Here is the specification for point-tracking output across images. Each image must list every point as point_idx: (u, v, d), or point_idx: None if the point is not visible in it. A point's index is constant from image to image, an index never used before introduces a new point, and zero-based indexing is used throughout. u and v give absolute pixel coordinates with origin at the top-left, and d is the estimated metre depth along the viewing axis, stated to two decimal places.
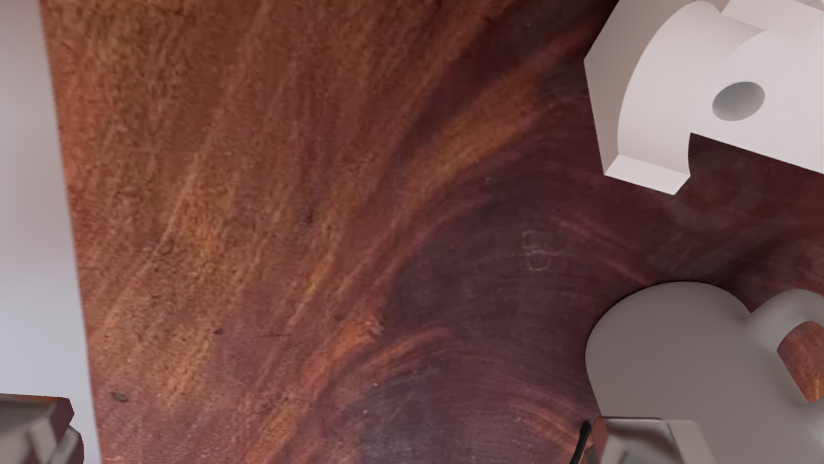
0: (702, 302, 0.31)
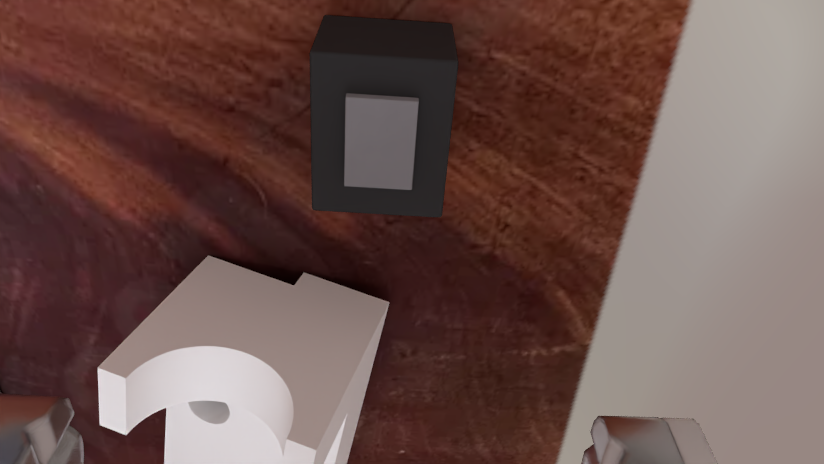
0: None
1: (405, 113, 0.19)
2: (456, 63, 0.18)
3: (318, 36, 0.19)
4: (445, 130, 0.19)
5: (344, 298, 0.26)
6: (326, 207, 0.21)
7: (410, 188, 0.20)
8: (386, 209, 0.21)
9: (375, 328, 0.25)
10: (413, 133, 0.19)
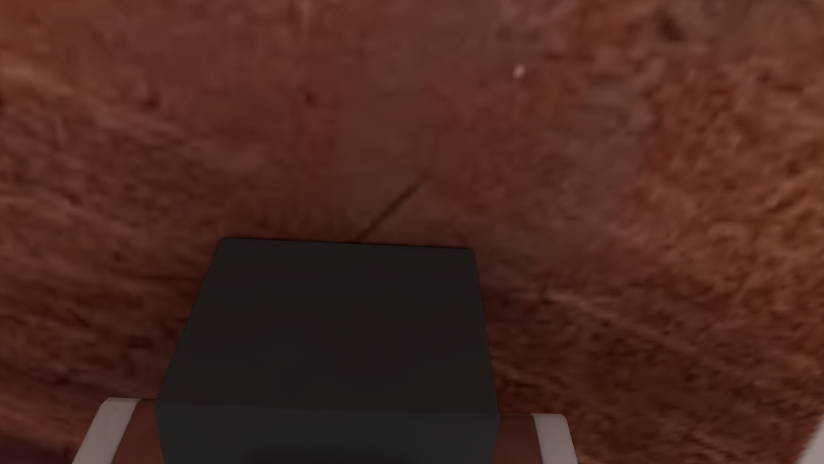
0: None
1: None
2: (495, 423, 0.08)
3: (188, 331, 0.09)
4: None
5: None
6: None
7: None
8: None
9: None
10: None
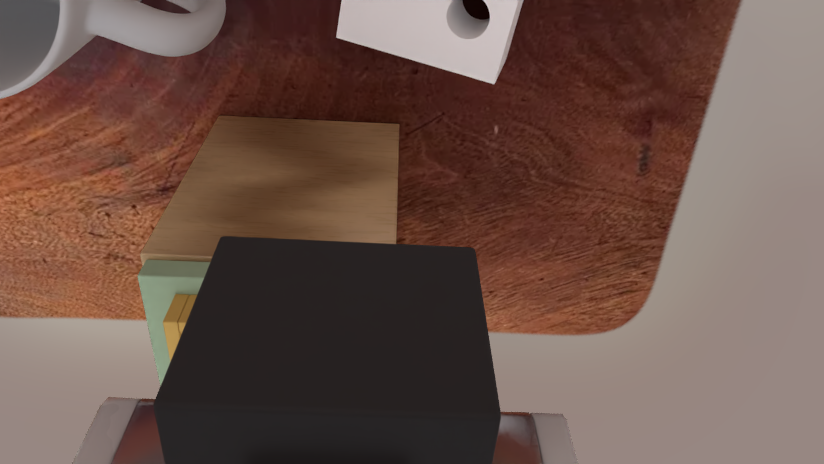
0: None
1: None
2: (497, 422, 0.08)
3: (188, 329, 0.09)
4: None
5: None
6: None
7: None
8: None
9: None
10: None
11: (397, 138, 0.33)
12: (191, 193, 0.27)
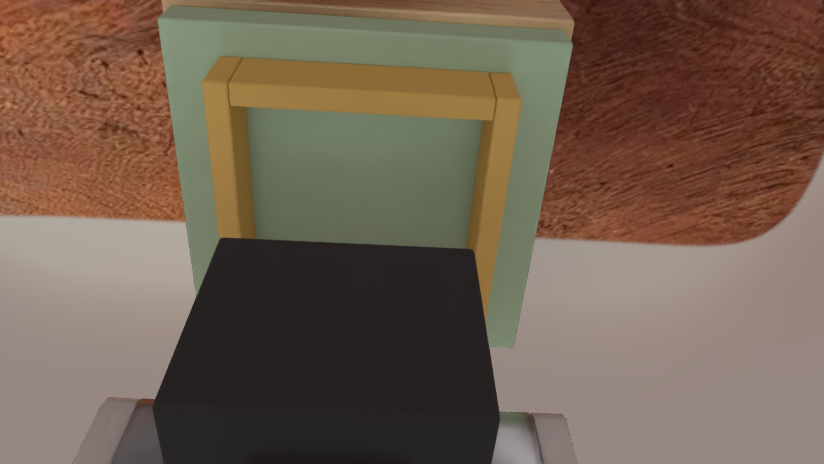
0: None
1: None
2: (496, 424, 0.08)
3: (187, 331, 0.09)
4: None
5: None
6: None
7: None
8: None
9: None
10: None
11: None
12: None
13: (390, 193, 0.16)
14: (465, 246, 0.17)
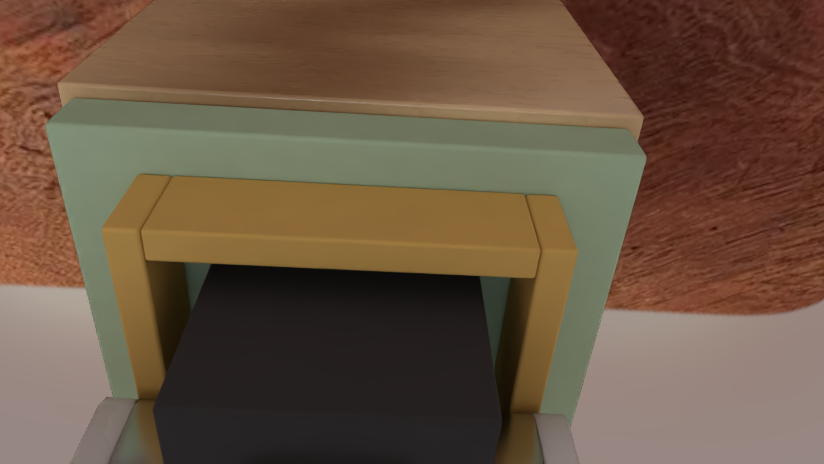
0: None
1: None
2: (498, 426, 0.08)
3: (188, 332, 0.09)
4: None
5: None
6: None
7: None
8: None
9: None
10: None
11: None
12: (180, 7, 0.14)
13: None
14: None
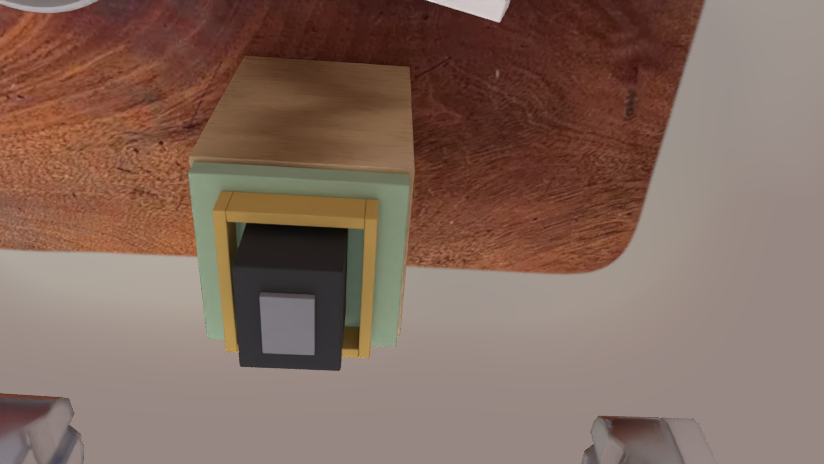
0: None
1: (305, 307, 0.25)
2: (341, 273, 0.25)
3: (240, 245, 0.25)
4: (337, 315, 0.26)
5: None
6: (250, 365, 0.27)
7: (313, 354, 0.26)
8: (296, 365, 0.27)
9: None
10: (312, 319, 0.25)
11: (408, 77, 0.36)
12: (228, 113, 0.31)
13: None
14: (361, 288, 0.29)
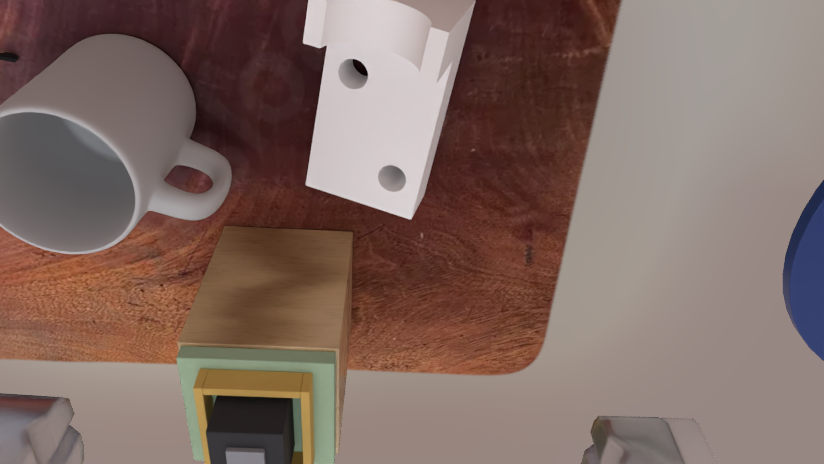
0: (188, 107, 0.41)
1: (257, 457, 0.36)
2: (281, 435, 0.35)
3: (212, 413, 0.36)
4: (281, 460, 0.37)
5: None
6: None
7: None
8: None
9: (469, 6, 0.37)
10: None
11: (350, 245, 0.47)
12: (208, 294, 0.41)
13: None
14: None
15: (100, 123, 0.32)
